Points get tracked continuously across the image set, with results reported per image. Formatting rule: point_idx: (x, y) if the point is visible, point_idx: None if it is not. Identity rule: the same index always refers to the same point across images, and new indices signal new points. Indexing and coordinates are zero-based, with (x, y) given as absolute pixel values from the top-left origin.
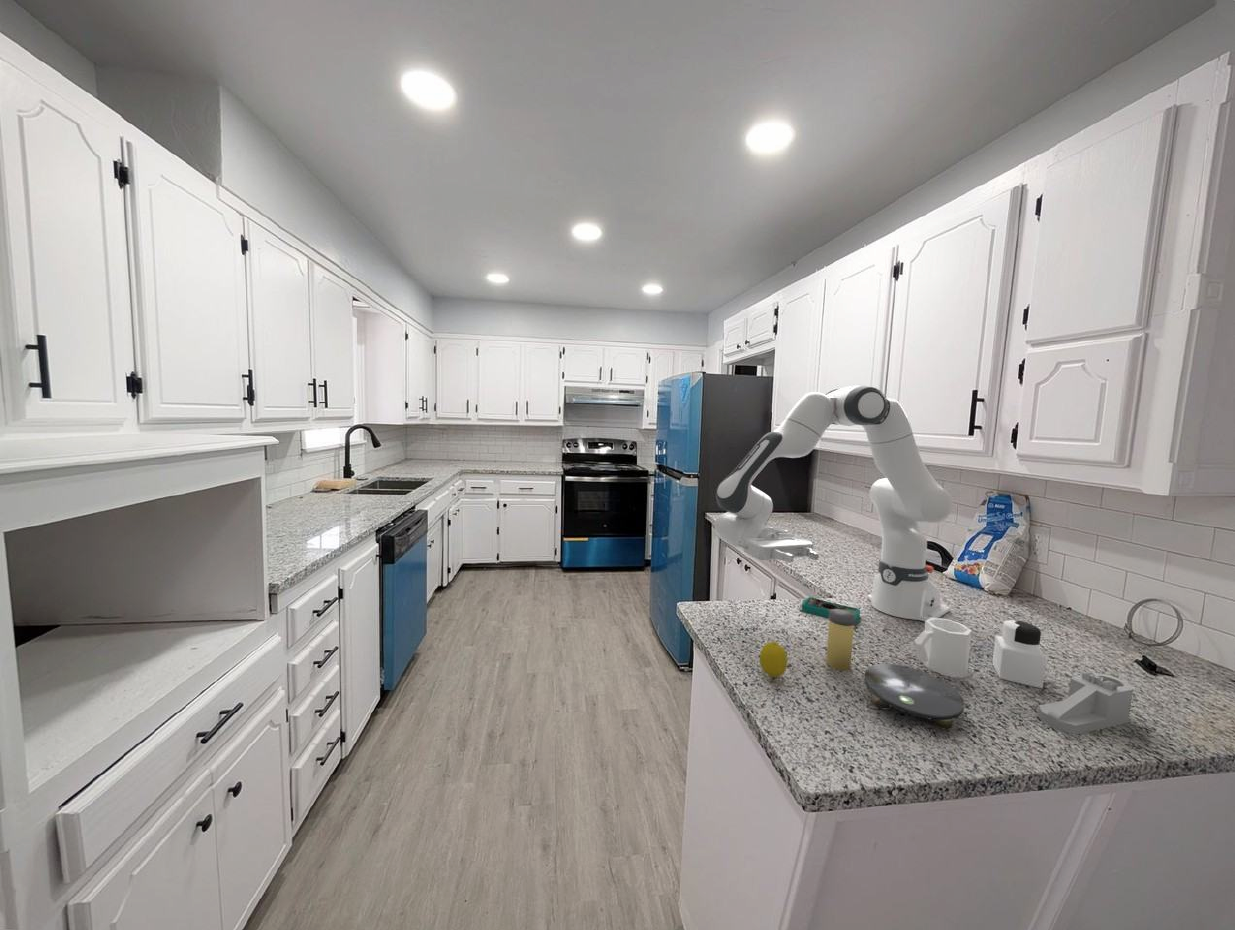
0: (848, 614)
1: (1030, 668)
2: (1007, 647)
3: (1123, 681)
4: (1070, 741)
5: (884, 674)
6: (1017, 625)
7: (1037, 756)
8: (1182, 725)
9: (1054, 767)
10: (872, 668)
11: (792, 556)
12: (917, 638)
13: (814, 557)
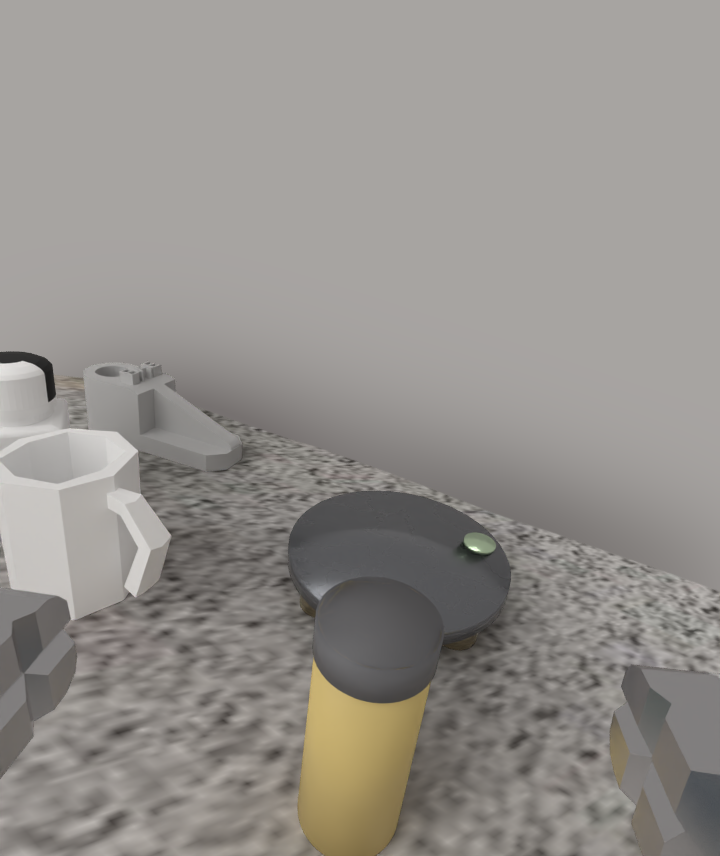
0: (357, 599)
1: None
2: (55, 425)
3: (100, 364)
4: (265, 453)
5: None
6: (27, 363)
7: (355, 473)
8: None
9: (363, 464)
10: None
11: (671, 671)
12: (146, 534)
13: (64, 645)
